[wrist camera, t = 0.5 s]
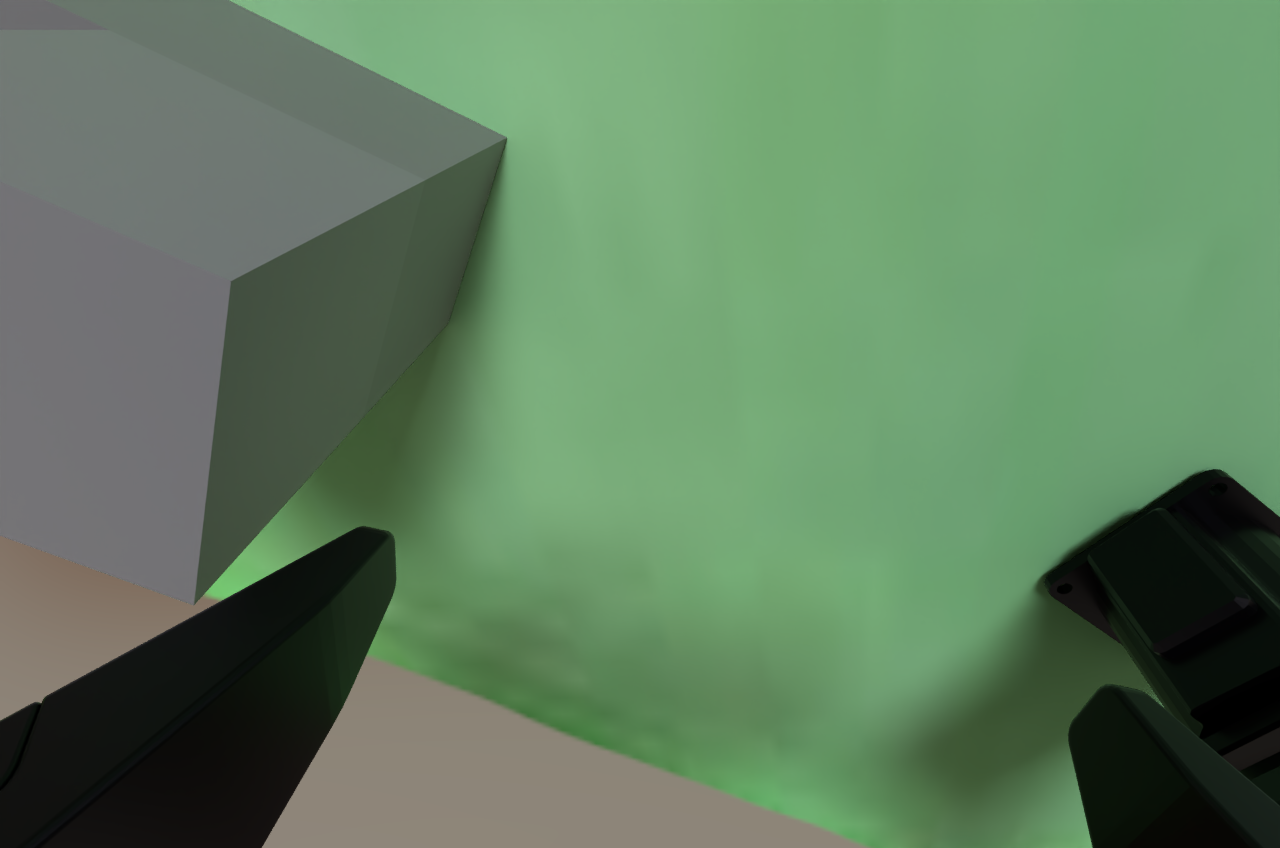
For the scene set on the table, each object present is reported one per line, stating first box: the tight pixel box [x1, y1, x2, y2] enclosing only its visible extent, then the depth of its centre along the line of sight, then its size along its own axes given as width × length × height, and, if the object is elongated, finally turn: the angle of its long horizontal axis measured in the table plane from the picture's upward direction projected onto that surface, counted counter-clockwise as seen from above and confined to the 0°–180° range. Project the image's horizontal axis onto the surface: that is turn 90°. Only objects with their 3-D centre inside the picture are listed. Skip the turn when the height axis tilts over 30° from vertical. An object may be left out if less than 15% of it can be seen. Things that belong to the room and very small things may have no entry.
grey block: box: [0, 0, 507, 605], centre depth 13 cm, size 14×6×12 cm, turn 66°
